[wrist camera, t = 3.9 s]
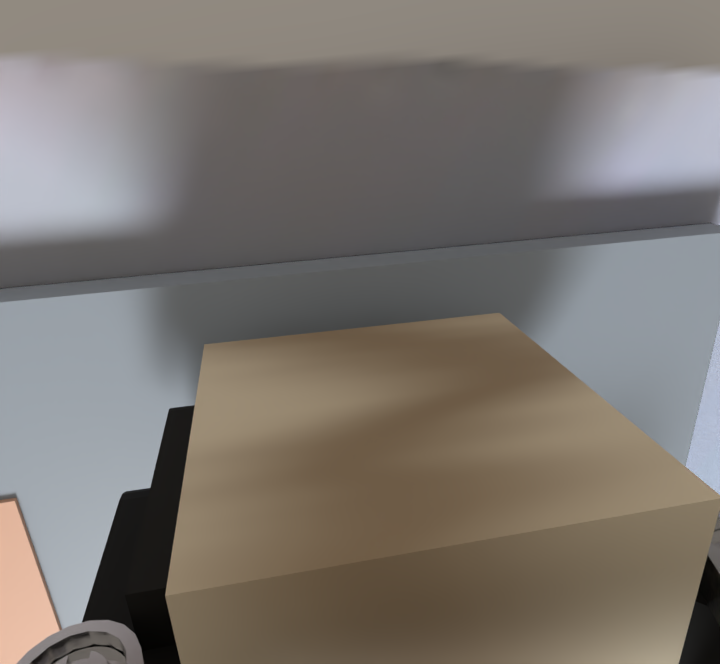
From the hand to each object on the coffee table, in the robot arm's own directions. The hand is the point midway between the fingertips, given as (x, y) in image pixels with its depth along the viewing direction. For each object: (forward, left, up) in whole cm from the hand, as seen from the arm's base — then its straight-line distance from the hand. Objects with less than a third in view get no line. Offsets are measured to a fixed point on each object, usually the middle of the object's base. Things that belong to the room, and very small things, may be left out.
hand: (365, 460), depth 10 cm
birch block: (0, 0, 0) cm, 0 cm away
